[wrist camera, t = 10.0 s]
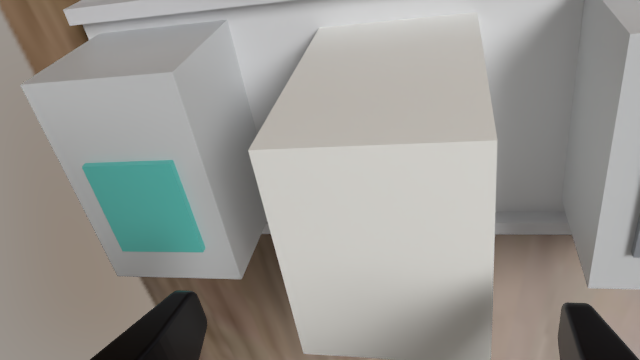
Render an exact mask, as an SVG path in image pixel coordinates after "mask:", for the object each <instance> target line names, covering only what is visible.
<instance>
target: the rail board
mask: <svg viewBox="0 0 640 360" xmlns="http://www.w3.org/2000/svg"><path fill="white" fill-rule="evenodd" d="M583 5H584V0H81V1H79V2H77V3H75V4H73V5H71V6H69V7H68V8H66V9H64V10H63V11H64V13H65V16H66V18H67V20H68V23H69V25H70V26H72V25H81V24H83V27H84V29H85V32H86V34H87V37H88V39H89V40H90V39H92V38H93V37H95V36H96V35H98V34H100V33H107V32H116V31H126V30H135V29H144V28H154V27H163V26H172V25H181V24H191V23H200V22H209V21H219V20H228V24H229V28H230V32H231V36H232V40H233V43H234V47H235V51H236V55H237V59H238V63H239V67H240V71H241V75H242V78H243V82H244V86H245V90H246V94H247V98H248V102H249V106H250V109H251V113H252V117H253V121H254V125H255V129H256V133H257V134H258V132H259V131H260V129H261V127H262V125H263V124H264V122H265V120H266V119H267V117H268V115H269V113H270V112H271V110H272V108H273V106H274V105H275V103H276V101H277V100H278V98H279V96H280V94H281V93H282V91H283V89H284V88H285V86H286V84H287V82H288V81H289V79H290V77H291V76H292V74H293V72H294V70H295V69H296V67H297V65H298V63H299V62H300V60H301V58H302V57H303V55H304V53H305V51H306V50H307V48H308V46H309V45H310V43H311V41H312V39H313V38H314V36H315V34H316V33H317V31H318V29H319V28H321V27H332V26H342V25H352V24H362V23H372V22H383V21H393V20H403V19H413V18H423V17H434V16H444V15H454V14H464V13H474V12H477V14H478V20H479V26H480V33H481V39H482V45H483V52H484V58H485V64H486V71H487V77H488V84H489V90H490V96H491V103H492V109H493V115H494V122H495V128H496V134H497V173H496V207H495V234H538V235H572V233H571V230H570V226H569V223H568V220H567V216H566V213H565V210H564V206H563V203H562V200H561V199H562V191H563V182H564V173H565V164H566V155H567V147H568V138H569V129H570V120H571V111H572V102H573V94H574V85H575V76H576V67H577V58H578V49H579V41H580V32H581V23H582V14H583ZM262 234H271V232H270V229H269V225H268V221H267V222H266V224H265V227H264V229H263V231H262Z"/></svg>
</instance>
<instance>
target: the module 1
mask: <svg viewBox="0 0 640 360" xmlns="http://www.w3.org/2000/svg"><path fill="white" fill-rule="evenodd" d="M20 86H21V88H22V89H23V92H24V94H25V96H26V97H27V99H28V101H29V103H30V105H31V107H32V109H33V111H34V113H35V115H36V117H37V119H38V121H39V123H40V125H41V127H42V129H43V131H44V133H45V135H46V137H47V138H48V141H49V143H50V145H51V146H52V149H53V150H54V152H55V154H56V156H57V158H58V160H59V162H60V164H61V166H62V168H63V170H64V172H65V174H66V176H67V178H68V180H69V182H70V184H71V185H72V188H73V190H74V191H75V194H76V195H77V198H78V200H79V201H80V203H81V205H82V207H83V209H84V211H85V213H86V215H87V217H88V219H89V221H90V223H91V225H92V227H93V229H94V231H95V233H96V235H97V237H98V239H99V241H100V243H101V245H102V247H103V248H104V250H105V253H106V254H107V256H108V258H109V260H110V262H111V264H112V266H113V268H114V270H115V272H116V274H117V276H133V277H172V278H211V279H242V277H243V275H244V273H245V270H246V268H247V266H248V263H249V261H250V259H251V257H252V254H253V252H254V250H255V247H256V245H257V243H258V240H259V238H260V236H261V234H262V231H263V229H264V227H265V224H266V222H267V218H266V214H265V210H264V207H263V203H262V199H261V196H260V192H259V188H258V185H257V181H256V177H255V174H254V170H253V166H252V163H251V159H250V155H249V152H248V150H249V148H250V146H251V144H252V143H253V141H254V139H255V137H256V136H257V133H256V129H255V125H254V121H253V117H252V113H251V109H250V106H249V102H248V98H247V94H246V90H245V86H244V82H243V78H242V75H241V71H240V67H239V63H238V59H237V55H236V51H235V47H234V43H233V40H232V36H231V32H230V28H229V24H228V20H219V21H209V22H200V23H191V24H181V25H172V26H163V27H154V28H144V29H135V30H126V31H116V32H107V33H100V34H98V35H96V36H95V37H93V38H92V39H90V40H89V41H87V42H86V43H84V44H82V45H81V46H79V47H78V48H76V49H75V50H73V51H72V52H70V53H68V54H67V55H65V56H64V57H62V58H61V59H59V60H58V61H56V62H55V63H53V64H51V65H50V66H48V67H47V68H45V69H44V70H42V71H41V72H39V73H37V74H36V75H34V76H33V77H31V78H30V79H28V80H27V81H25V82H24V83H22V84H21V85H20Z"/></svg>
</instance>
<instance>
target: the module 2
mask: <svg viewBox="0 0 640 360" xmlns="http://www.w3.org/2000/svg"><path fill="white" fill-rule="evenodd" d="M561 200H562V203H563V206H564V210H565V213H566V216H567V220H568V223H569V226H570V230H571V233H572V236H573V240H574V243H575V246H576V250H577V253H578V256H579V260H580V263H581V267H582V270H583V273H584V277H585V280H586V283H587V287H588V288H605V289H640V0H584V5H583V14H582V23H581V32H580V41H579V49H578V58H577V67H576V76H575V85H574V94H573V102H572V111H571V120H570V129H569V138H568V147H567V155H566V164H565V173H564V182H563V191H562V199H561Z"/></svg>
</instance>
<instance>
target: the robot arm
mask: <svg viewBox="0 0 640 360" xmlns="http://www.w3.org/2000/svg"><path fill="white" fill-rule="evenodd" d="M206 329H207V319H206V316H205V313H204V311H203V308H202V306H201V303H200V301H199V299H198V296H197V294H196V293H195V292H193V291H175V292H173V293H172V294H170V295H169V296H168V297H167V298H165V299H164V300H163V301H162V302H160V303H159V304H158V305H157V306H156V307H154V308H153V309H152V310H151V311H149V312H148V313H147V314H146V315H144V316H143V317H142V318H141V319H140V320H138V321H137V322H136V323H135V324H133V325H132V326H131V327H130V328H128V329H127V330H126V331H125V332H123V333H122V334H121V335H120V336H119V337H117V338H116V339H115V340H114V341H112V342H111V343H110V344H109V345H108V346H106V347H105V348H104V349H103V350H101V351H100V352H99V353H98V354H96V355H95V356H94V357H93V358H91V359H90V360H199V357H200V353H201V349H202V345H203V341H204V337H205V333H206ZM558 346H559V354H560V360H639V359H638V358H637V357H636V356H635V354H634V353H633V352H632V351H631V350H630V349H629V348H628V347H627V345H626V344H625V343H624V342H623V341H622V340H621V339H620V338H619V336H618V335H617V334H616V333H615V332H614V331H613V330H612V329H611V328H610V326H609V325H608V324H607V323H606V322H605V321H604V320H603V319H602V317H601V316H600V315H599V314H598V313H597V312H596V311H595V310H594V308H593V307H592V306H590V305H589V304H586V303H565V304H563V306H562V309H561V316H560V324H559V331H558Z"/></svg>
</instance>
